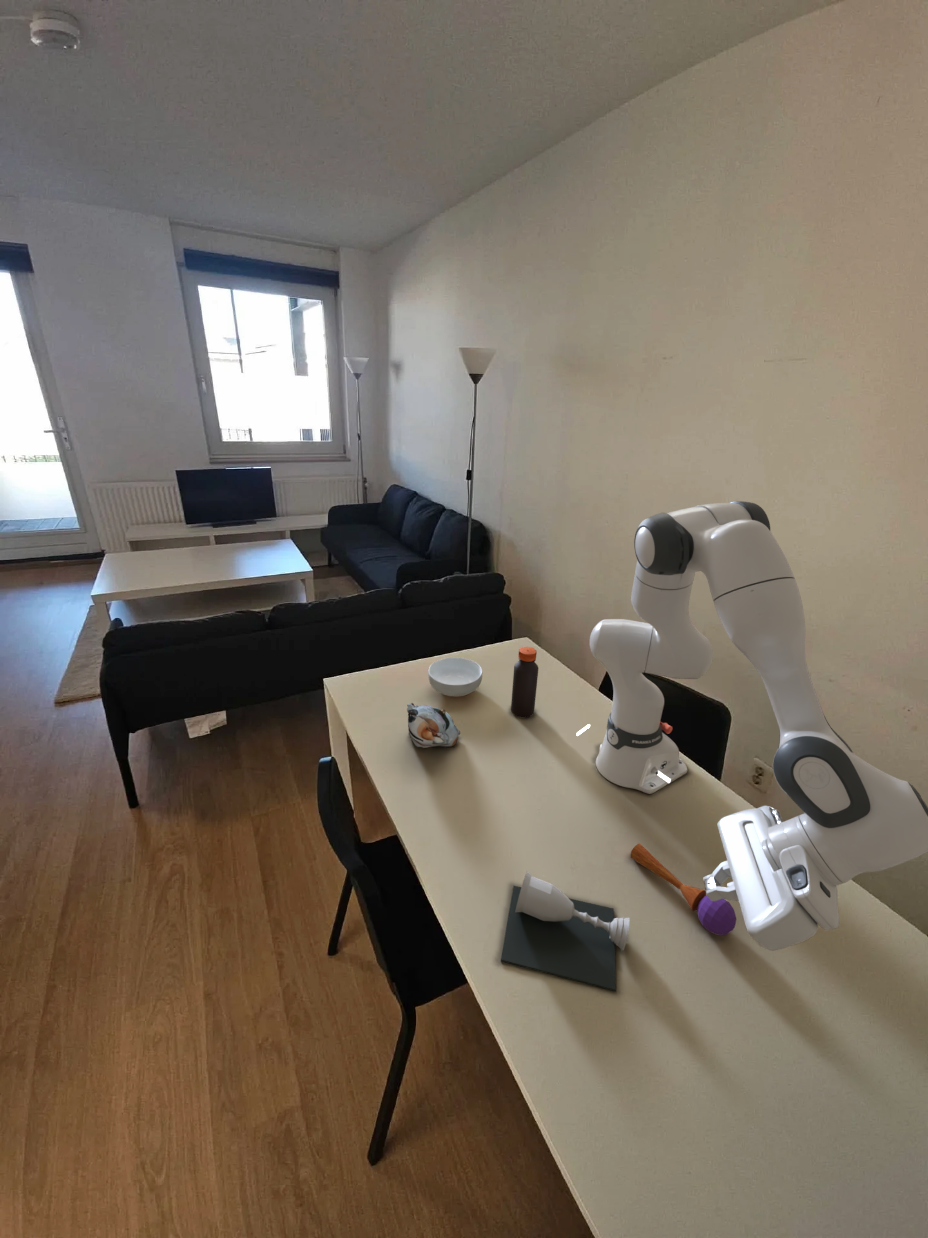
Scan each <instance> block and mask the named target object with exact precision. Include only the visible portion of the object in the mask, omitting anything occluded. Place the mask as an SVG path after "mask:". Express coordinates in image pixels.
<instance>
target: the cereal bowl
mask: <svg viewBox="0 0 928 1238" xmlns="http://www.w3.org/2000/svg"><path fill="white" fill-rule="evenodd" d="M427 670H428V672H427V676H428V681H429V684H430V686H431V688H433V689H434V690H435V691H436V692H437V693H439V694H441V695H444V696H447V697H464V696H466V695H469V694H472V693H474V692H475V691H476V690H477V689H478V688H479V687H480V686H481V683H482V680H483V668H482V667H481V665H480V664H479V663H478V662H476V661H475V660H472V659H470V658H465V657H459V656H458V657H456V656H454V657H453V656H452V657H444V658H441V659H438V660H436V661H434V662H432V663H431V664H430V665H429V667H428V669H427Z"/></svg>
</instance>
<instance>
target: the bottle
mask: <svg viewBox="0 0 928 1238" xmlns="http://www.w3.org/2000/svg"><path fill="white" fill-rule="evenodd" d="M537 652H538V651H537V649H535V648H534V647H532V646H521V647H519V648H518V660H517V661H516V662H515V663H514V665H513V674H512V675H513V676H512V679H513V680H512V689H511V690H512V691H511V701H510V704H511V705H510V713H512V714H513V716H515V717H518V718H521V719H522V718H523V719H525V718H526V719H527V718H529V717H532V716H533V715H534V713H535V707H536V698H537V687H538V678H539V665H538V664H537V663H536V660H537Z"/></svg>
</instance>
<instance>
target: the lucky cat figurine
mask: <svg viewBox="0 0 928 1238" xmlns="http://www.w3.org/2000/svg"><path fill="white" fill-rule="evenodd" d="M406 712H407V728H408V729H407V730H408V736H409V738H410V739H411V741H412V743H413V744H414V746H415V747H416V748H423V749H426V748H432V747H453V746H455V745H456V743H457V741H458V740H459V736H460V735H461V731H460V729H459V727H458V726H457V725H456V724H455V723H454V719H453V718H452V717H451V715H450V714H449V713H448V712H447V711H446V709H445V708H444V707H440V708H439V707H437V706H436V707H434V706H431V705H429V704H421V705H418V704H417V705H416V704H415V703H413V702H410V703H408V704H407V707H406Z"/></svg>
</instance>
